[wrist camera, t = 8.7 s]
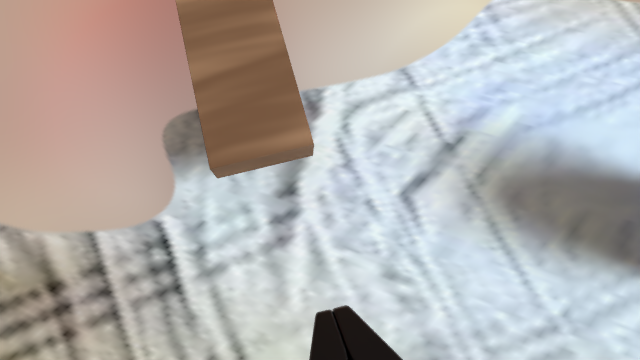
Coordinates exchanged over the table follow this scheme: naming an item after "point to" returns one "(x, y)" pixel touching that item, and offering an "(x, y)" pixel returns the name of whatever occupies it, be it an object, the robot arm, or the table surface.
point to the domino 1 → (243, 85)
